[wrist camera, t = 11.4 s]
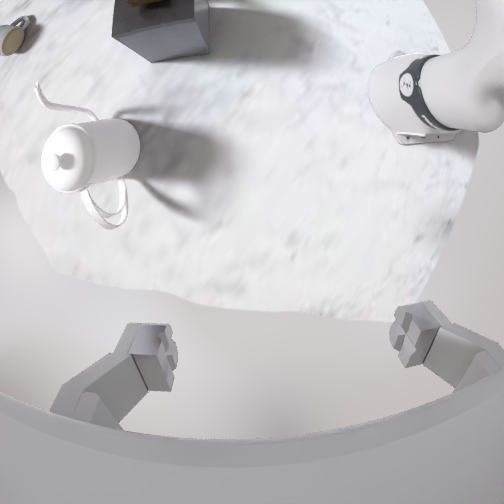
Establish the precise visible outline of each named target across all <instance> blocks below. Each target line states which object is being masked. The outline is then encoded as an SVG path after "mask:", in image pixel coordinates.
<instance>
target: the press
mask: <svg viewBox="0 0 504 504" xmlns="http://www.w3.org/2000/svg"><path fill="white" fill-rule="evenodd" d="M112 37H113V38H114V39H116V40H118V41H119V42H121V43H122V44H124V45H126V46H127V47H129V48H130V49H132V50H133V51H135V52H136V53H138V54H139V55H141V56H142V57H144V58H145V59H147V60H148V61H149V62H151V63H154V62H159V61H164V60H169V59H175V58H182V57H189V56H196V55H205V54H210V46H209V6H208V3H207V0H161V1H157V2H151V3H147V4H143V5H139V6H136V7H132V6H131V5H130V4H129V3H127V2H126V1H125V0H115V6H114V15H113V26H112Z"/></svg>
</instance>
